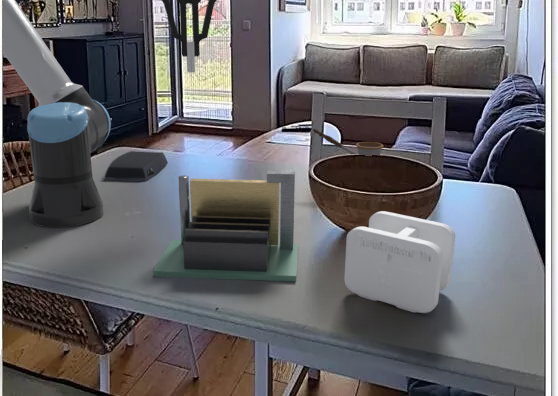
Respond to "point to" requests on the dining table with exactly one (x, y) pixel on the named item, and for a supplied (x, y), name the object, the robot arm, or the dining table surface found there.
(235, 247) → the grey slotted rack
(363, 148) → the coffee pot
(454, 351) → the dining table surface
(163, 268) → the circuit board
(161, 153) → the external hard drive
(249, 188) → the brass plate
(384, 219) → the cable organizer
